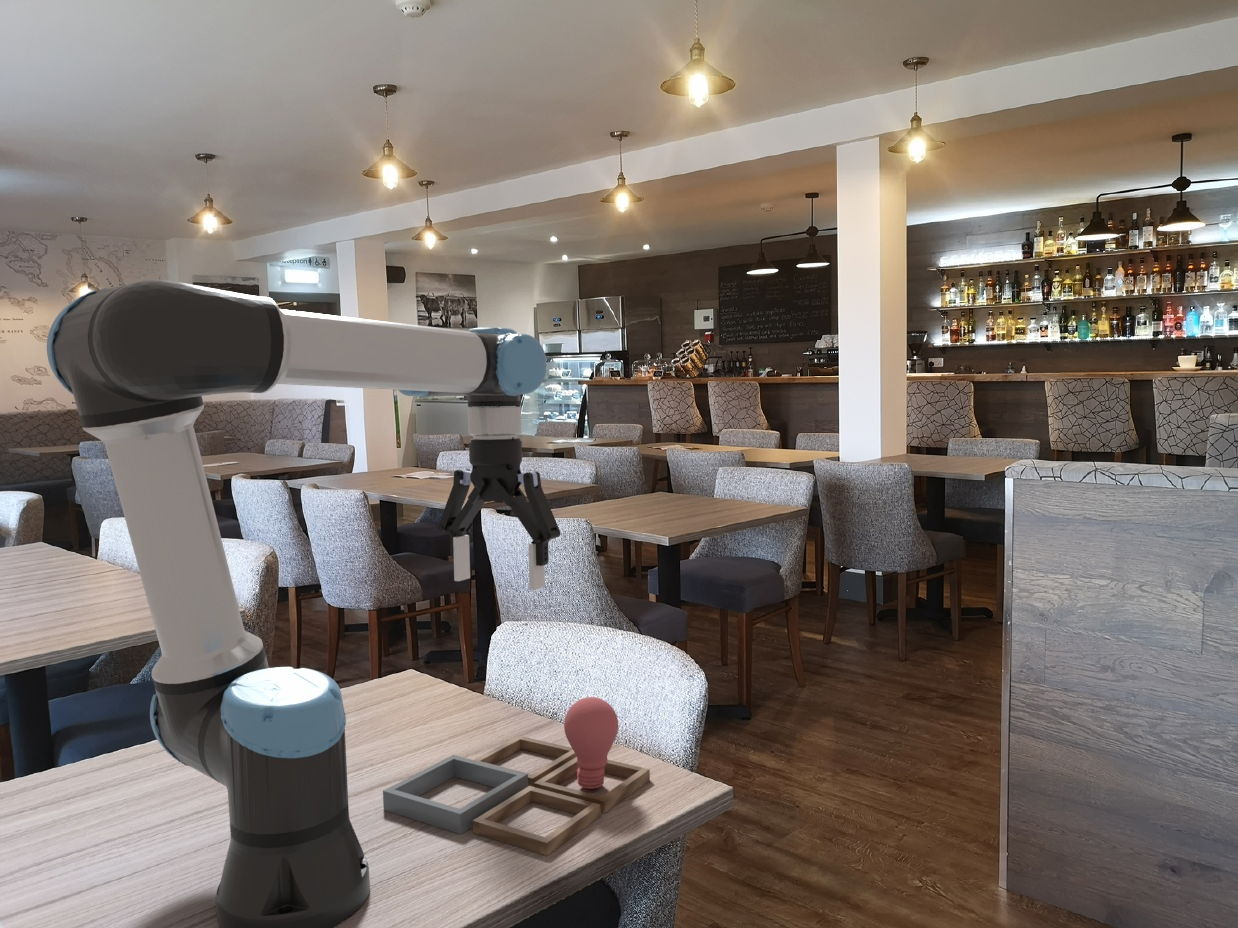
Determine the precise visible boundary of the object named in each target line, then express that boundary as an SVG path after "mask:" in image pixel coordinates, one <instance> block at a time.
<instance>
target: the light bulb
mask: <svg viewBox="0 0 1238 928" xmlns="http://www.w3.org/2000/svg"><path fill="white" fill-rule="evenodd" d="M563 722H564V723H563V728H564V734H565V736H566V739H567V741H568V743H569V745H570V748H572V749H573V751H574V752H575V754H576V756H577V764H578V765H579V768H578V769H577V773H576V774H577V776H576V777H577V784H578V786H579V787H582V788H583V789H590V790H591V789H599V788H601V787H602V786H604V783H605V780H604V779H605V773H604V766H605V765H606V764H607V761H608V760H609V759H608V754H609V753H610V751H611V749H612V747H613V745H614V742H615V739H616V737H617V735H618V731H619V719H618V716H617V713H616V711H615V709H614V708H613V707H612V705H611V704H609V703H608V701H606V700H604V699H602V698H600V697H595V696H594V697H593V696H590V697H588V696H587V697H584V698H581V699H579V700H577V701H576V702H574V703H572V705H571V706H570V707H569V709H568V711H567V712H566V715H565V717H564V721H563Z"/></svg>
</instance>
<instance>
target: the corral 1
mask: <svg viewBox="0 0 1238 928" xmlns="http://www.w3.org/2000/svg"><path fill="white" fill-rule="evenodd" d="M495 765H496V764H493V765H491V764H487V763H483V762H479V761H475V760H474V759H471V758H466V757H463V756H459V755H456V754H453V755H451V756H450V755H449V756H448V757H446V758H444V759H442V760H440V761H439V762H437V763H434V764H432V765H431V766H428V767H427V768H425V769H423V770H420V771H418V772H416V773H415V774H413V775H411V776H409V777H408V778H405V779H403V780H401V781H399V782H397V783H396V784H393V785H392V786H389V787H388V788H385V789H384V790H382V799H383V800H382V801H383V804H382V805H383V810H384V811H386V812H389V813H392V814H395V815H396V814H397V815H399V816H402V817H405V818H409V819H412V820H414V821H418V822H422V823H425V824H427V825H431V826H433V827H436V828H440V829H443V830H446V831H450V832H453V833H457V834H459V835H463V834H464V833H465V832H467V831H468V830H470V829H473V820H474V819H476V818H478V817H479V816H481V815H483V814H484V813H486V812H487V811H489V810H491V809H492V808H494V807H496V806H497V805H499V804H501V803H502V802H504V801H505V800H507V799H509V798H510V797H512V796H514V795H515V794H517V793H518V792H520V791H522V790H523V789H525V788H527V787H528V774H526V773H527V772H525V773H522V772H523V771H521V772H518V771H519V770H517V771H514V770H515V769H513V770H510V769H511V768H509V769H506V768H507V767H505V768H502V767H503V766H501V767H499V766H500V765H497V766H495ZM454 777H455V778H458V779H462V780H466V781H469V782H472V783H477V784H479V785H480V784H481V785H484V786H488V787H492V789H491V790H490V791H488V792H486V793H484V794H482V795H481V796H479V797H478V798H475V799H473V801H470V802H469V803H467V804H465V805H463V806H462V807H460V808H458V807H455V806H453V805H452V806H451V805H449V804H444V803H442V802H438V801H435V800H431V799H427V798H424V797H421V795H423V794H425V793H427V792H428V791H431V790H432V789H434V788H436V787H437V786H440V785H441V784H443V783H445V782H447V781H449V780H451V779H452V778H454Z"/></svg>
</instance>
